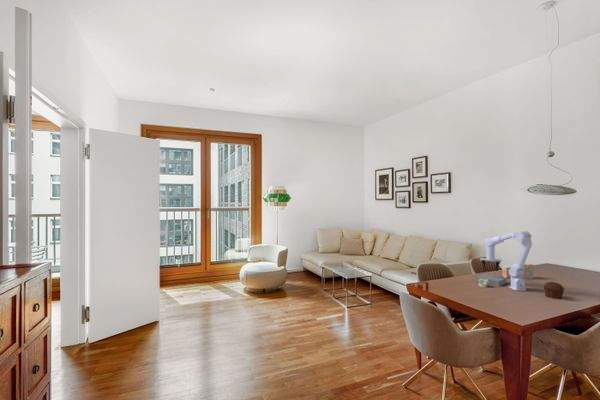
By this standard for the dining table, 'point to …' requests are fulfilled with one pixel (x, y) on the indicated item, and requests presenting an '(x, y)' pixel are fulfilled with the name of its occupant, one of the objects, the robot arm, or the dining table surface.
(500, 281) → the base block
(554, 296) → the muffin
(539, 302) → the dining table surface
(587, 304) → the dining table surface
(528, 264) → the stack of blocks
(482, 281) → the sage cube
